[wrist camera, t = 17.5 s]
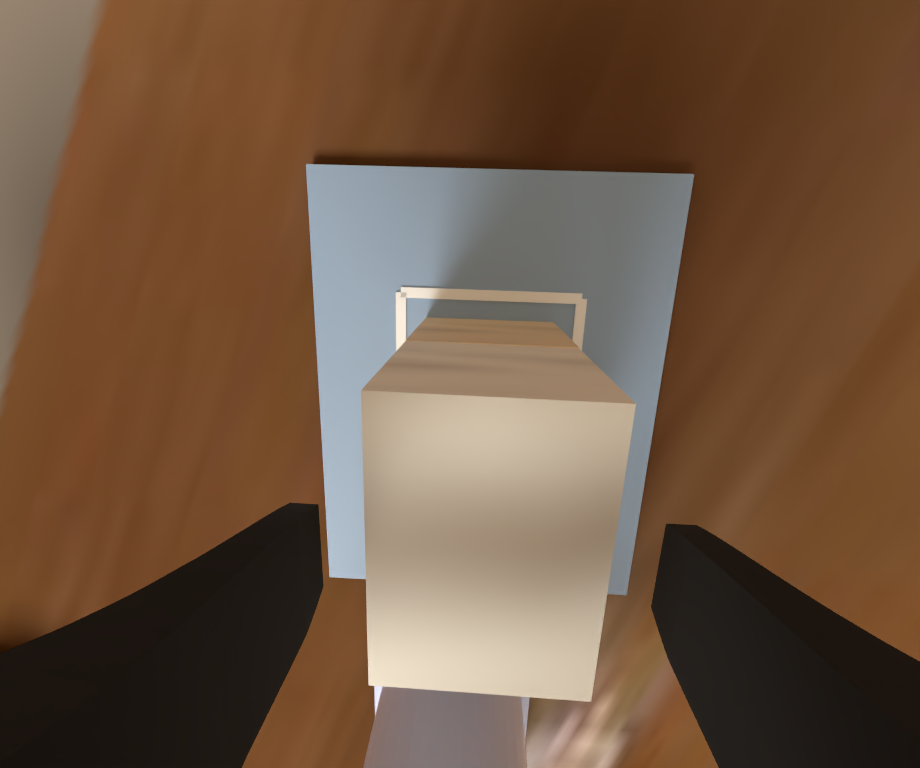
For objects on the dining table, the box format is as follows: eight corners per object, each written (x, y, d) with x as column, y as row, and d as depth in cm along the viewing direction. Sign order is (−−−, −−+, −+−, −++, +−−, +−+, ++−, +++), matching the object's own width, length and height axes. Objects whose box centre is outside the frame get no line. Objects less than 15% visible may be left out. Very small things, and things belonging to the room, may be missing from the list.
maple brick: (539, 482, 20) (556, 556, 15) (424, 476, 20) (405, 547, 15) (553, 322, 18) (579, 347, 13) (426, 317, 18) (405, 340, 13)
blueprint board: (622, 586, 22) (627, 596, 21) (333, 568, 22) (329, 578, 21) (686, 176, 17) (695, 173, 16) (311, 167, 17) (305, 163, 16)
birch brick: (556, 557, 15) (590, 701, 10) (405, 547, 15) (368, 685, 10) (579, 348, 13) (636, 404, 8) (405, 340, 13) (361, 390, 8)
